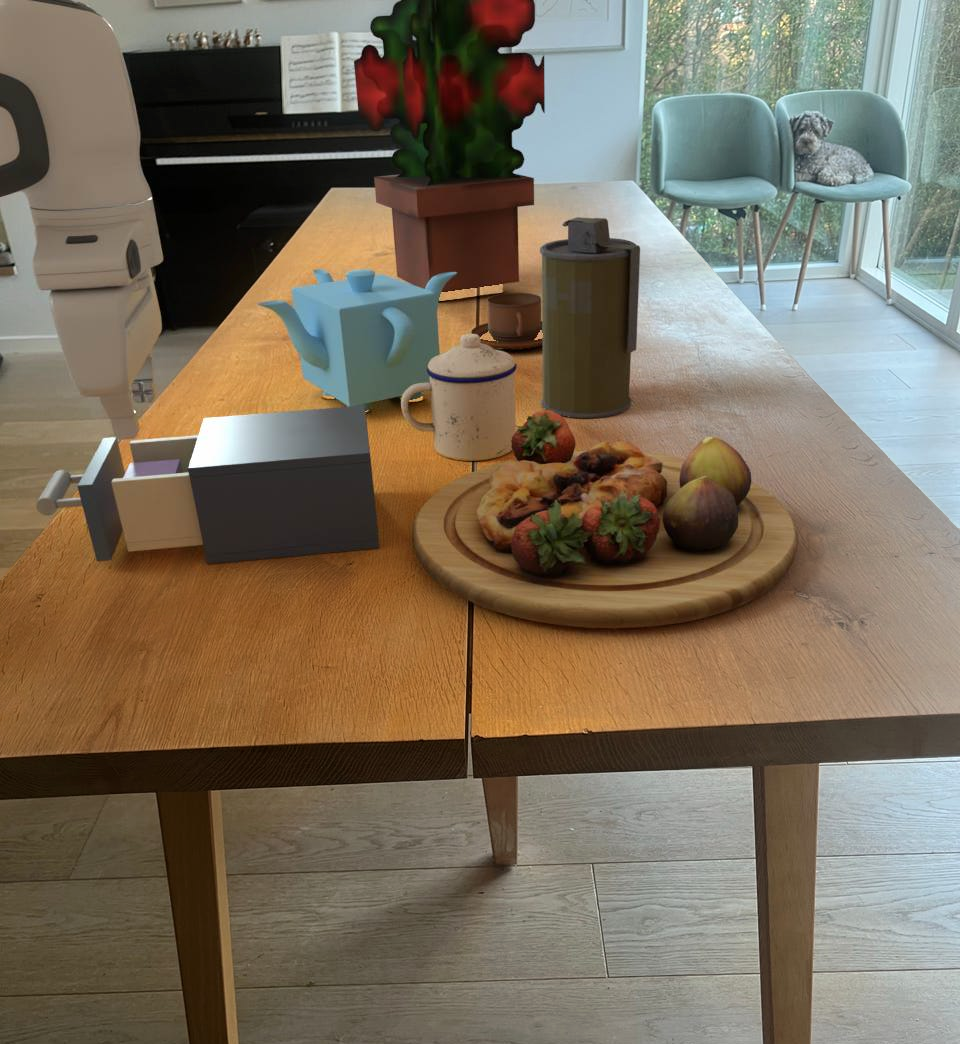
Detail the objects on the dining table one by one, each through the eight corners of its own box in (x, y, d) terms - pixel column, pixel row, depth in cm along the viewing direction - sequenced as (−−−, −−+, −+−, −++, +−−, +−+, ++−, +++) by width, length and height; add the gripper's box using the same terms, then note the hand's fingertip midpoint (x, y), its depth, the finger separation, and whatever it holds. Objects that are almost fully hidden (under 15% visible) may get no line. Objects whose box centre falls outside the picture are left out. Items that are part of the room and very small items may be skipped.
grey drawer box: (206, 564, 86) (187, 468, 82) (219, 505, 97) (203, 417, 92) (379, 548, 87) (370, 452, 83) (373, 492, 98) (364, 405, 94)
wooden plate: (410, 482, 100) (404, 400, 96) (731, 461, 101) (739, 379, 97) (417, 652, 72) (408, 547, 68) (857, 620, 74) (875, 515, 69)
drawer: (42, 566, 85) (20, 490, 81) (71, 512, 95) (52, 442, 91) (259, 546, 86) (247, 471, 83) (266, 495, 96) (255, 425, 93)
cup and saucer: (574, 347, 139) (574, 301, 136) (495, 361, 135) (494, 313, 132) (532, 328, 148) (531, 285, 145) (457, 341, 144) (455, 296, 141)
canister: (523, 410, 117) (520, 224, 107) (570, 385, 124) (571, 209, 114) (607, 425, 112) (612, 231, 101) (650, 398, 119) (659, 215, 109)
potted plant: (490, 271, 184) (480, -25, 161) (545, 295, 167) (543, -34, 144) (374, 287, 177) (346, -21, 154) (419, 313, 160) (396, -31, 136)
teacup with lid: (507, 428, 112) (504, 320, 106) (527, 457, 104) (525, 342, 98) (399, 440, 110) (390, 331, 104) (411, 470, 102) (402, 354, 97)
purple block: (131, 529, 88) (120, 481, 86) (140, 509, 92) (129, 463, 89) (183, 525, 88) (173, 477, 86) (189, 505, 92) (180, 458, 90)
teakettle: (422, 426, 114) (413, 290, 106) (267, 418, 118) (248, 287, 111) (465, 376, 130) (459, 255, 122) (327, 371, 134) (313, 253, 126)
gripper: (85, 223, 87) (119, 384, 94) (25, 270, 69) (73, 463, 76) (161, 219, 87) (189, 379, 94) (120, 265, 70) (159, 456, 77)
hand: (137, 417), depth 85 cm, fingers open, 8 cm apart
